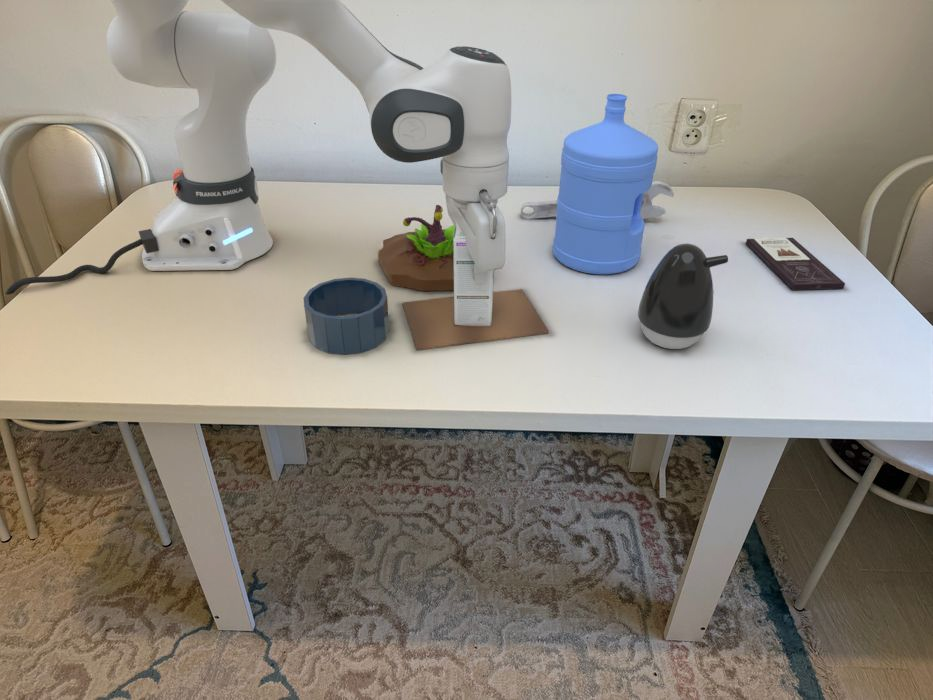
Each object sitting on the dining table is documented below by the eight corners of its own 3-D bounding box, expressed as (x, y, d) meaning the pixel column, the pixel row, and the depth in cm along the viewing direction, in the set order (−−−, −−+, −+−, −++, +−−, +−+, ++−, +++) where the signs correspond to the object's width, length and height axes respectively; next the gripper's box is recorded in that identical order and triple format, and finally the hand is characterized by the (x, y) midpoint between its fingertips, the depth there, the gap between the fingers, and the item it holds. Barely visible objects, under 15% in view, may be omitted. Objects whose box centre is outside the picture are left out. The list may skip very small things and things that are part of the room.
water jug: (568, 280, 113) (587, 111, 97) (541, 241, 126) (554, 86, 110) (653, 272, 116) (685, 107, 100) (618, 235, 128) (642, 82, 112)
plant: (381, 295, 108) (377, 232, 102) (376, 244, 124) (372, 186, 117) (502, 288, 110) (505, 225, 104) (482, 238, 126) (483, 181, 120)
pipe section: (310, 359, 93) (305, 323, 90) (307, 316, 102) (302, 282, 99) (394, 348, 95) (392, 313, 92) (383, 307, 105) (380, 274, 101)
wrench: (521, 228, 137) (670, 218, 134) (521, 231, 136) (672, 221, 132) (519, 191, 133) (673, 179, 129) (519, 194, 131) (675, 183, 128)
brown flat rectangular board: (416, 350, 95) (416, 347, 95) (402, 305, 106) (402, 302, 105) (548, 333, 99) (548, 330, 99) (522, 291, 110) (522, 289, 109)
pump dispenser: (706, 364, 93) (732, 267, 84) (631, 352, 95) (649, 256, 87) (705, 326, 101) (729, 235, 93) (636, 316, 103) (652, 226, 95)
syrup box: (491, 327, 100) (496, 238, 91) (452, 326, 100) (453, 237, 91) (491, 307, 104) (495, 221, 96) (454, 306, 104) (454, 220, 96)
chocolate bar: (793, 285, 110) (746, 238, 125) (792, 290, 111) (745, 243, 125) (845, 283, 111) (792, 237, 126) (843, 288, 111) (791, 242, 126)
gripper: (520, 205, 82) (514, 302, 90) (479, 153, 98) (477, 239, 106) (470, 209, 81) (469, 307, 88) (437, 156, 97) (438, 242, 105)
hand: (473, 269), depth 97 cm, fingers closed on syrup box, 6 cm apart
